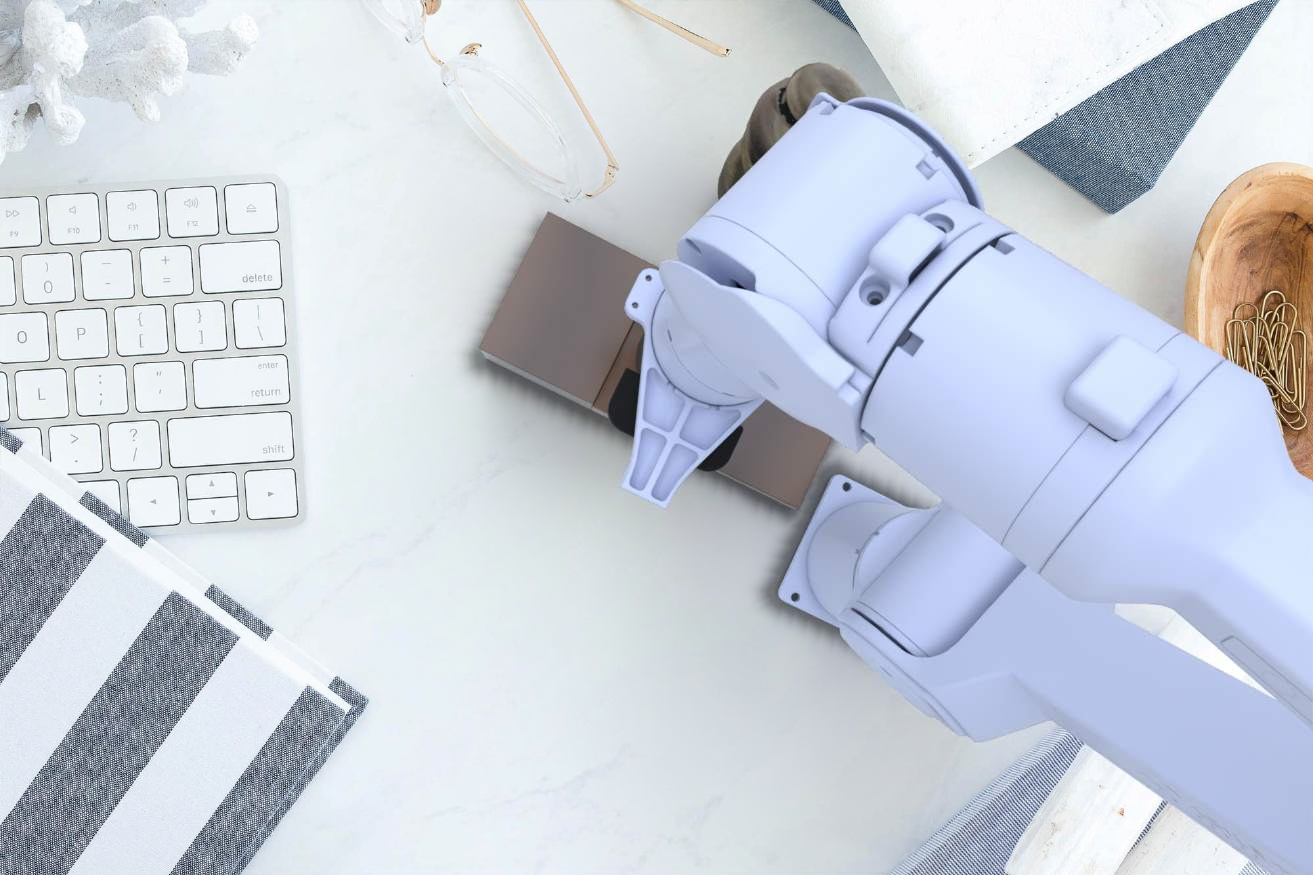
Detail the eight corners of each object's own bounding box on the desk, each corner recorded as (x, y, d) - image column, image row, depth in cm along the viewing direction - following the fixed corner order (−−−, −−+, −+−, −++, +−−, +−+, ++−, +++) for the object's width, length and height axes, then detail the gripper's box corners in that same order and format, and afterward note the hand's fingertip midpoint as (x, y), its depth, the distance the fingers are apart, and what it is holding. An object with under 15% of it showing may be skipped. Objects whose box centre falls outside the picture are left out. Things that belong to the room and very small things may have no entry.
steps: (849, 385, 54) (876, 378, 49) (791, 508, 53) (813, 513, 49) (548, 232, 52) (547, 210, 47) (485, 358, 51) (478, 348, 47)
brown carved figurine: (738, 145, 53) (809, 23, 38) (813, 202, 54) (913, 103, 39) (682, 223, 53) (733, 130, 38) (759, 279, 53) (839, 209, 38)
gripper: (734, 79, 32) (680, 191, 45) (549, 453, 31) (551, 454, 44) (910, 173, 32) (806, 256, 46) (735, 543, 31) (681, 517, 45)
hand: (689, 358), depth 45 cm, fingers closed on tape, 5 cm apart
